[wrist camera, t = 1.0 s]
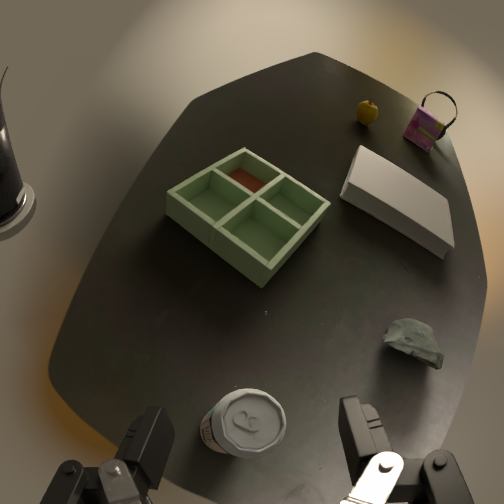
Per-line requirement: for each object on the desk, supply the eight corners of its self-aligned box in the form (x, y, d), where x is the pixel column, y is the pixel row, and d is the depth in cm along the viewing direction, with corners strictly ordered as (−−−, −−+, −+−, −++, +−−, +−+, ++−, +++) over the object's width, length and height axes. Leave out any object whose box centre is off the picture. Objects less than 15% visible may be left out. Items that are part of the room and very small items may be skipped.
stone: (368, 311, 39) (377, 368, 30) (386, 291, 36) (400, 348, 28) (419, 333, 39) (432, 385, 31) (436, 317, 37) (454, 369, 29)
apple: (357, 116, 80) (367, 95, 74) (374, 127, 78) (385, 106, 72) (348, 118, 76) (359, 95, 70) (366, 130, 74) (377, 107, 68)
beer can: (235, 460, 23) (272, 470, 14) (191, 439, 24) (199, 438, 14) (256, 420, 26) (302, 404, 17) (213, 399, 27) (235, 372, 17)
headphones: (407, 121, 95) (429, 81, 79) (437, 140, 94) (460, 102, 79) (409, 129, 89) (433, 86, 74) (441, 149, 89) (466, 108, 73)
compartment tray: (165, 213, 39) (166, 191, 36) (238, 167, 49) (243, 147, 46) (261, 288, 36) (271, 270, 33) (320, 221, 46) (331, 203, 42)
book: (454, 248, 45) (348, 181, 48) (442, 260, 48) (339, 197, 51) (447, 196, 57) (360, 142, 59) (438, 207, 60) (353, 155, 62)
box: (401, 135, 82) (418, 107, 73) (404, 131, 85) (419, 104, 76) (427, 153, 80) (445, 126, 71) (428, 149, 83) (445, 122, 74)
